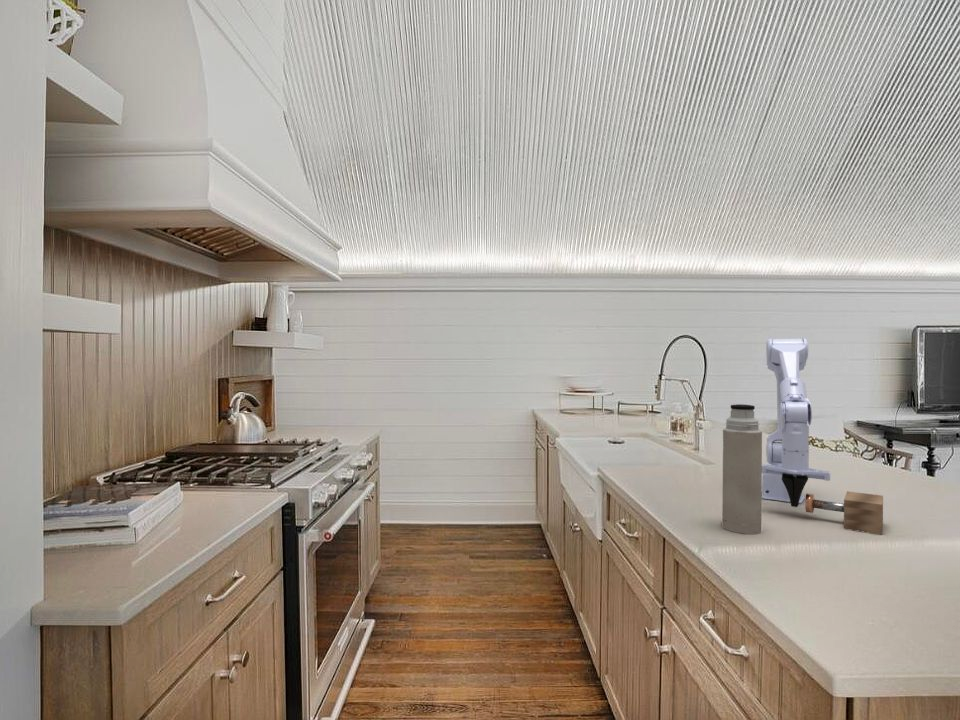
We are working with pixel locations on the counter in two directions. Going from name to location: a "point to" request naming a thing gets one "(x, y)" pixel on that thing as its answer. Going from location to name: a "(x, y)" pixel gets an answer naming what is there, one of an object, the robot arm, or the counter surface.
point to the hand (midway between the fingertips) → (794, 506)
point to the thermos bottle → (742, 471)
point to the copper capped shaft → (821, 504)
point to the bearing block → (863, 512)
